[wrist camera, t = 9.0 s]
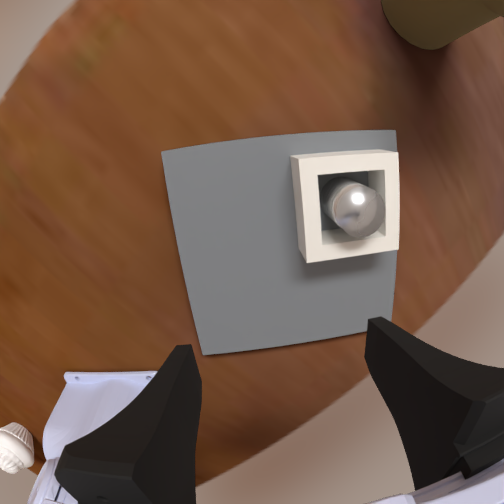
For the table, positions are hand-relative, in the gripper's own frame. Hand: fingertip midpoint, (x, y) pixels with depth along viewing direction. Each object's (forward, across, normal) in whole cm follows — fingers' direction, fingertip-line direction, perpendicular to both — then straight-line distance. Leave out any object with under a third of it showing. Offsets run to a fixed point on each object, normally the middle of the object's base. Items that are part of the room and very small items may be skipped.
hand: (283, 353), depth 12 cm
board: (+9, -2, -1) cm, 10 cm away
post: (+8, -5, -4) cm, 10 cm away
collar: (+8, -5, -4) cm, 10 cm away
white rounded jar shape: (+10, +32, +19) cm, 38 cm away
